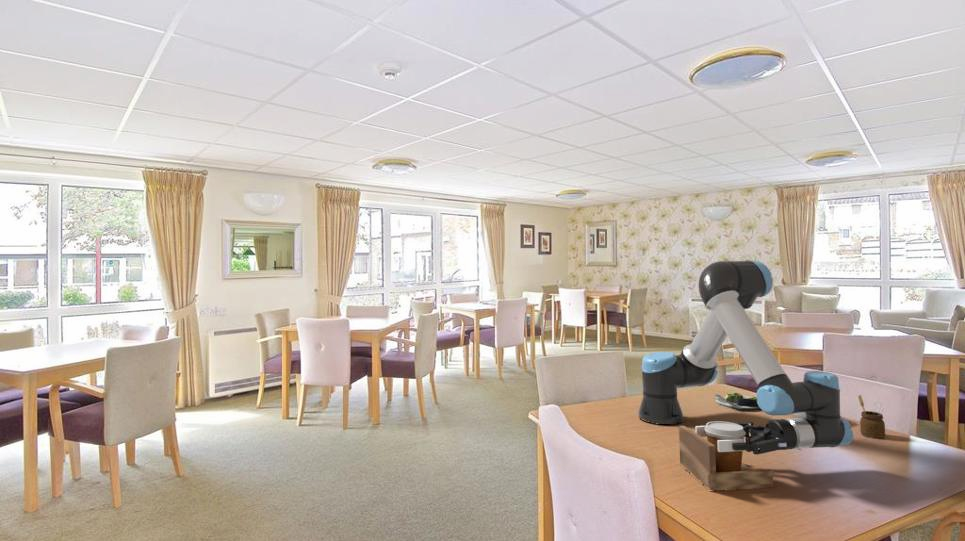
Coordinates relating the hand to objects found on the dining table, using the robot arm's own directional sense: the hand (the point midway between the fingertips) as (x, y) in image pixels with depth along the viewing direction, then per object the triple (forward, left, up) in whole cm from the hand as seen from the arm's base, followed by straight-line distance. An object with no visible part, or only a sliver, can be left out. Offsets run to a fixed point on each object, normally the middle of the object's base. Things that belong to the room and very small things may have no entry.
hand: (706, 438), depth 120 cm
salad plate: (+18, +72, -11) cm, 75 cm away
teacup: (+36, +60, -10) cm, 71 cm away
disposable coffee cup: (+5, +1, -9) cm, 10 cm away
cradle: (+4, +2, -10) cm, 11 cm away
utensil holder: (+50, +46, -10) cm, 69 cm away
